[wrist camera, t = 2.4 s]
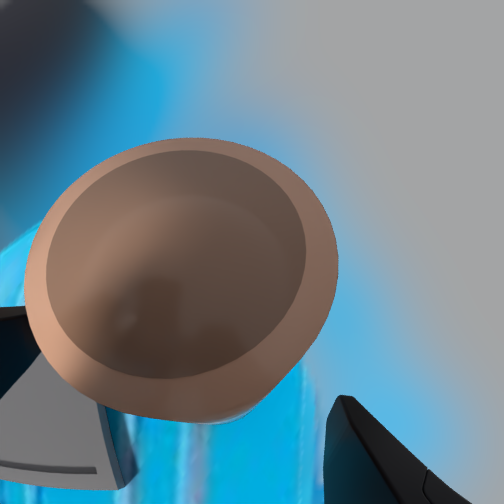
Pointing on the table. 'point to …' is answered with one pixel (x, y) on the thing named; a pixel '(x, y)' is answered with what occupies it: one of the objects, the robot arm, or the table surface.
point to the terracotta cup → (181, 279)
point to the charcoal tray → (55, 434)
